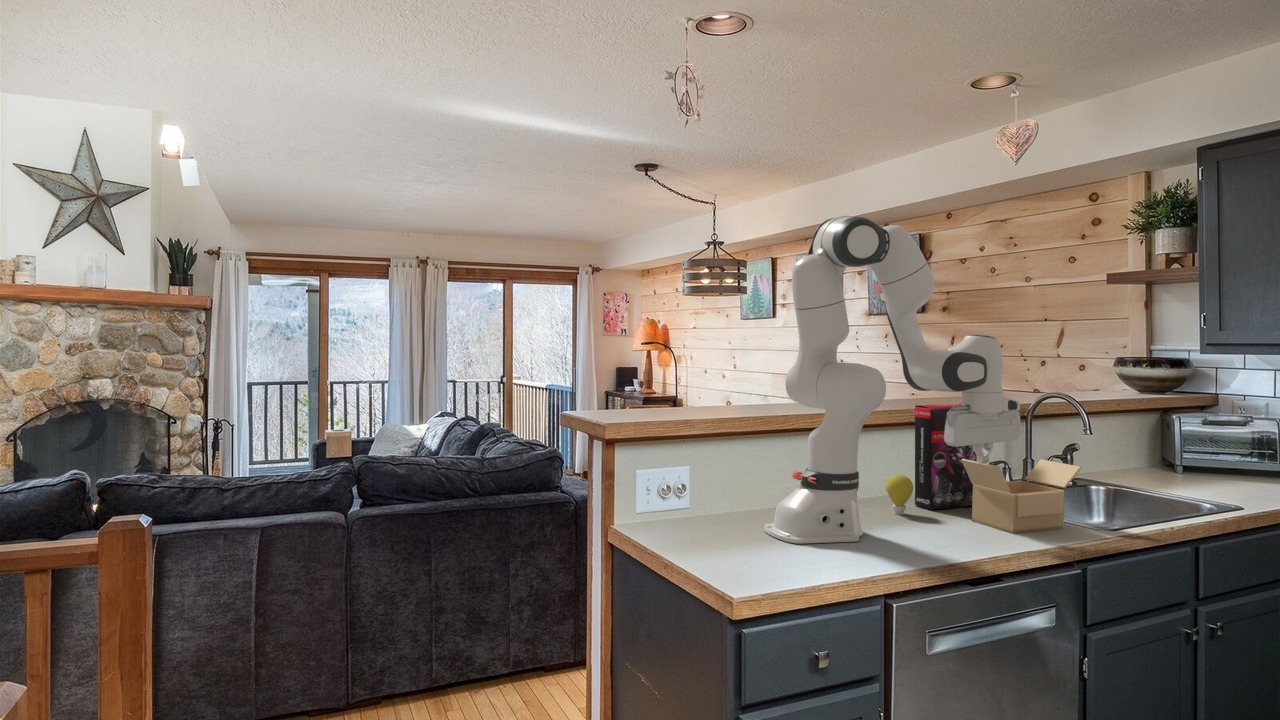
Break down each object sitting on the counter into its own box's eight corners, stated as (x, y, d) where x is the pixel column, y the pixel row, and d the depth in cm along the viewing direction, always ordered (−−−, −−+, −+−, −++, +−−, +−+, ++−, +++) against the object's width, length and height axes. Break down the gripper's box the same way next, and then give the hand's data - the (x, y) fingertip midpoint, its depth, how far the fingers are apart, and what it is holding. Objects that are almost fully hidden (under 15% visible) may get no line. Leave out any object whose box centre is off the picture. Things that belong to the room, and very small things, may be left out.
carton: (1015, 534, 167) (1016, 495, 166) (969, 520, 179) (970, 484, 179) (1065, 528, 172) (1066, 490, 172) (1018, 515, 185) (1019, 480, 184)
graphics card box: (930, 511, 188) (933, 406, 187) (911, 505, 195) (913, 404, 194) (980, 506, 195) (982, 404, 194) (959, 501, 201) (962, 402, 200)
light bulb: (901, 509, 190) (902, 471, 189) (918, 515, 183) (919, 476, 183) (879, 511, 188) (880, 472, 187) (896, 517, 181) (897, 477, 181)
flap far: (1064, 486, 173) (1080, 466, 175) (1024, 478, 183) (1040, 459, 185) (1065, 488, 173) (1081, 468, 175) (1025, 479, 184) (1041, 460, 185)
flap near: (973, 482, 178) (962, 458, 176) (1010, 491, 167) (999, 466, 166) (971, 483, 177) (961, 459, 176) (1009, 492, 167) (998, 467, 166)
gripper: (958, 407, 164) (958, 468, 165) (1025, 402, 171) (1025, 460, 172) (937, 405, 170) (938, 464, 170) (1003, 400, 177) (1003, 456, 178)
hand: (982, 462), depth 171 cm, fingers closed
